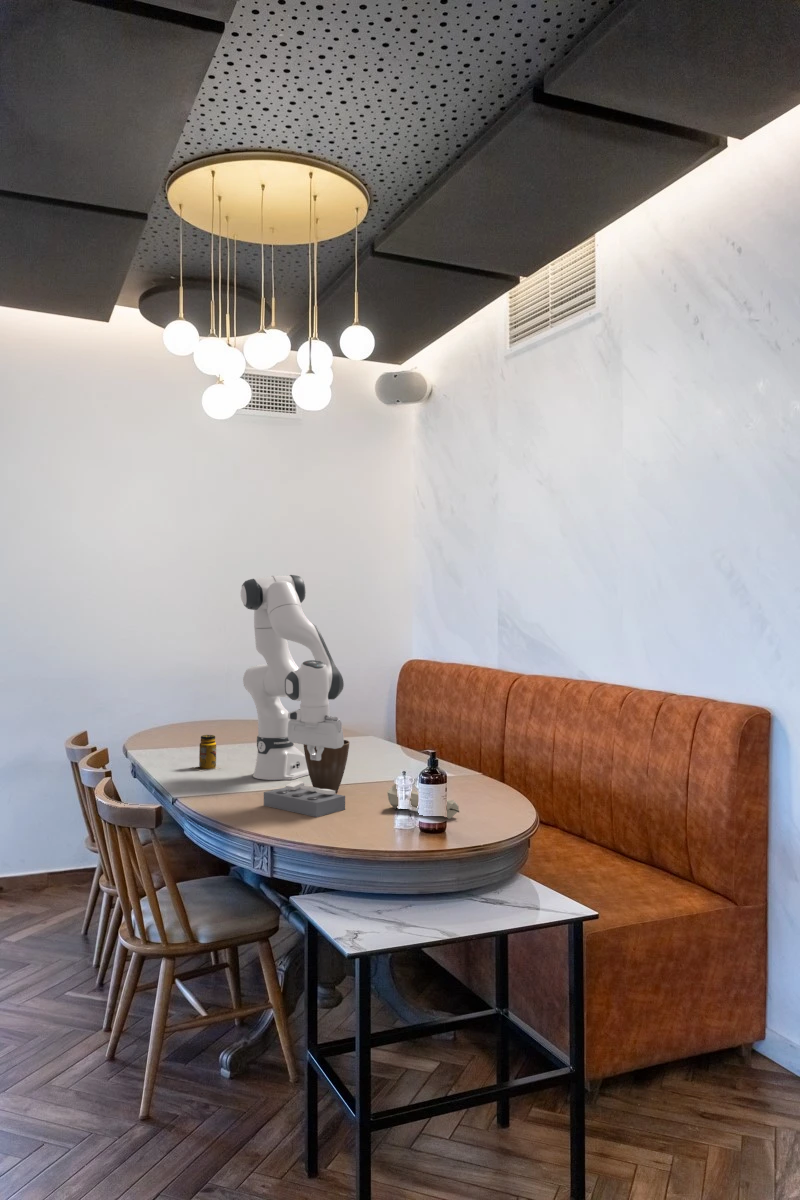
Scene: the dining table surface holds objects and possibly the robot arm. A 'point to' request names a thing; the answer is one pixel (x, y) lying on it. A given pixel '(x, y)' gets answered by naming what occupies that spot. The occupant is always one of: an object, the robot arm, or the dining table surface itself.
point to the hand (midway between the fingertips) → (315, 760)
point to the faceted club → (393, 799)
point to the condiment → (207, 753)
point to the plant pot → (327, 767)
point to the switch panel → (304, 801)
